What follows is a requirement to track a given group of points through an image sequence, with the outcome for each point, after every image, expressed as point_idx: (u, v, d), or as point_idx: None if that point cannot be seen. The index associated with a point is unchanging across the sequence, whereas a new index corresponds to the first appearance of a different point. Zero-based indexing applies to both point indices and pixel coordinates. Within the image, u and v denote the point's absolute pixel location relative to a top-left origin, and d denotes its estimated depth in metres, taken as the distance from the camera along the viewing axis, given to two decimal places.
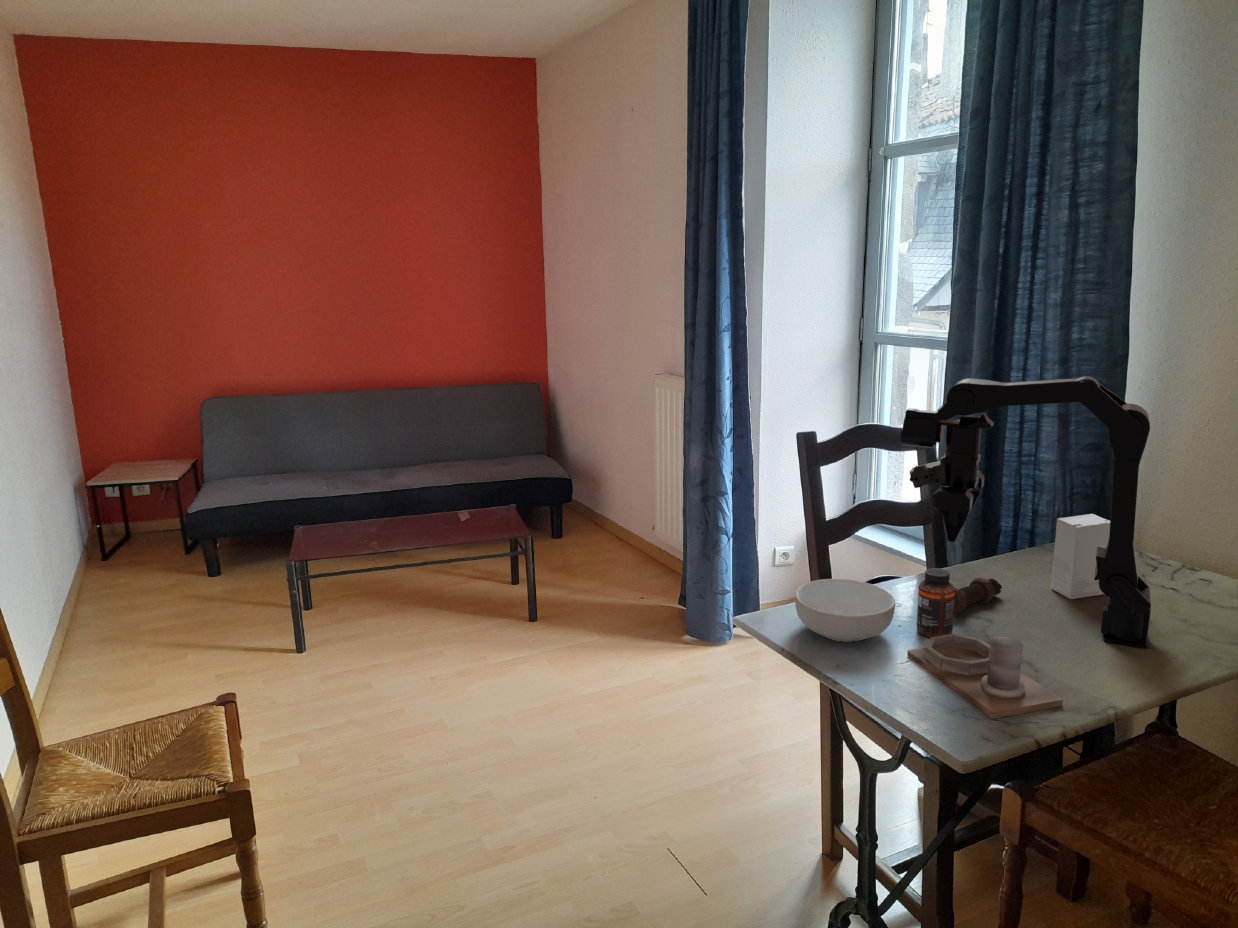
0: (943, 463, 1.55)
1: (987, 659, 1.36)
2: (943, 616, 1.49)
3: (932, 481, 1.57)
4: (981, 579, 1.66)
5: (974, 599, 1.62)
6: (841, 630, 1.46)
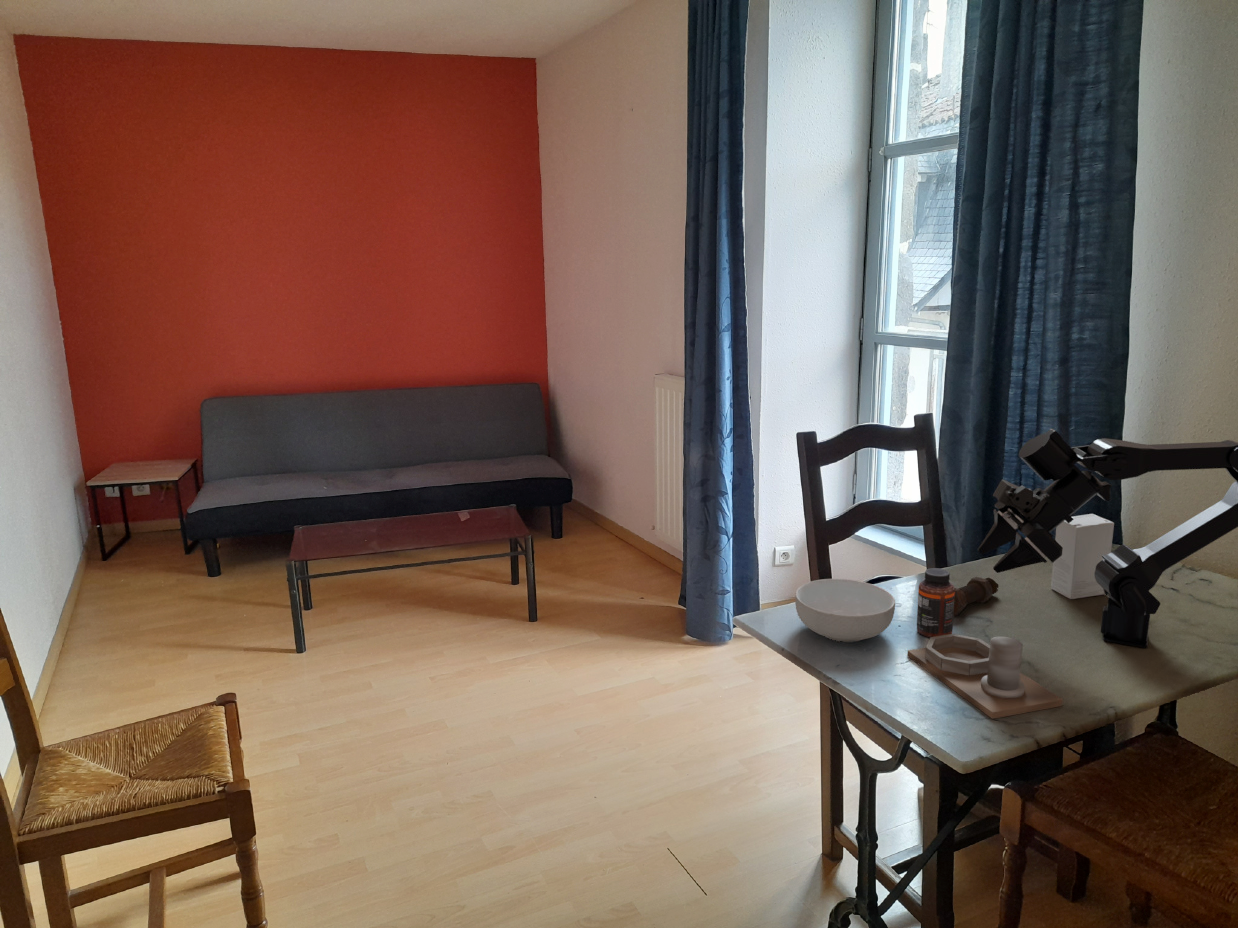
0: (1045, 500, 1.43)
1: (987, 659, 1.36)
2: (943, 616, 1.49)
3: (1021, 508, 1.44)
4: (978, 578, 1.66)
5: (973, 599, 1.63)
6: (841, 630, 1.46)
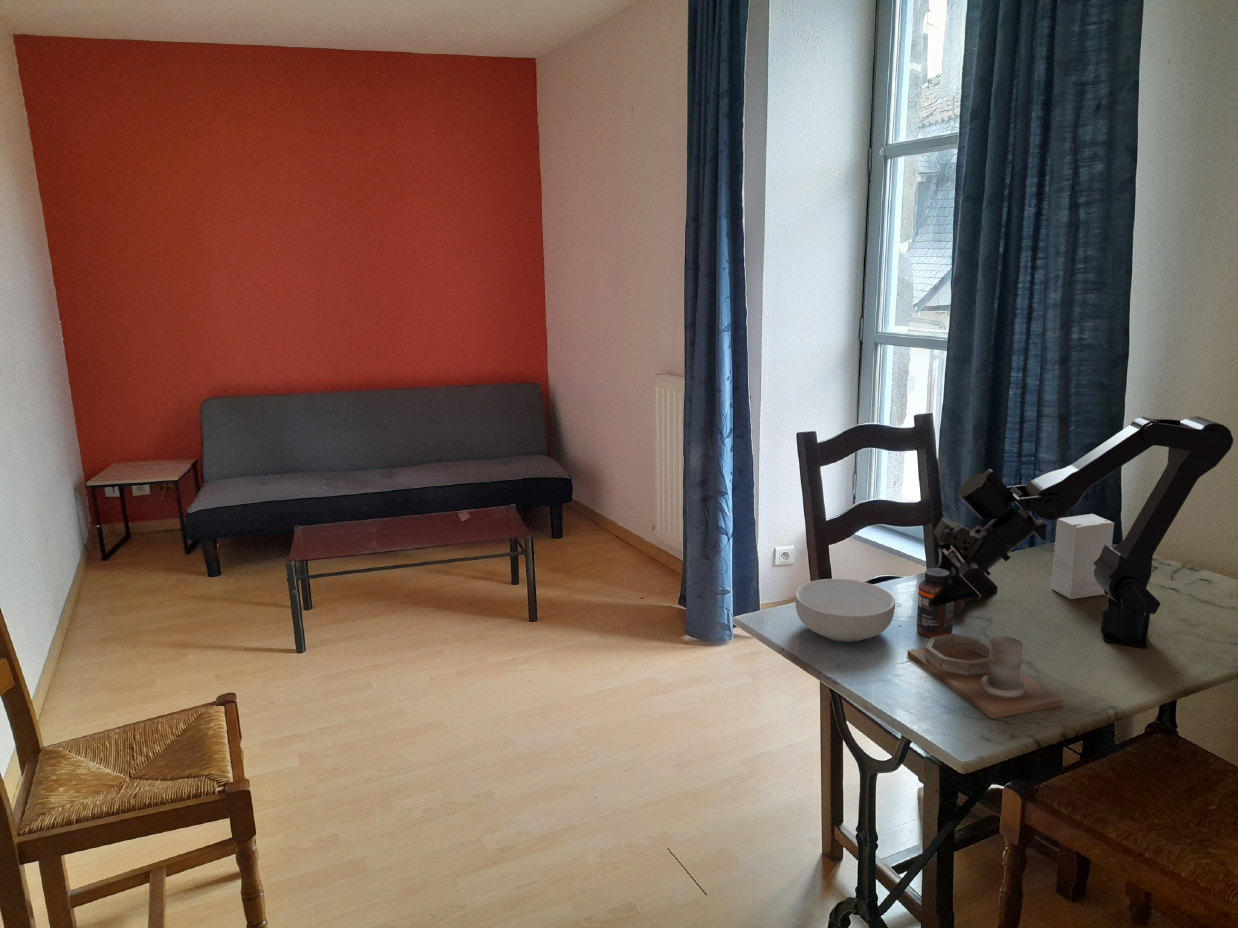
0: (983, 539, 1.46)
1: (987, 659, 1.36)
2: (943, 616, 1.49)
3: (959, 546, 1.47)
4: None
5: (969, 598, 1.63)
6: (841, 630, 1.46)
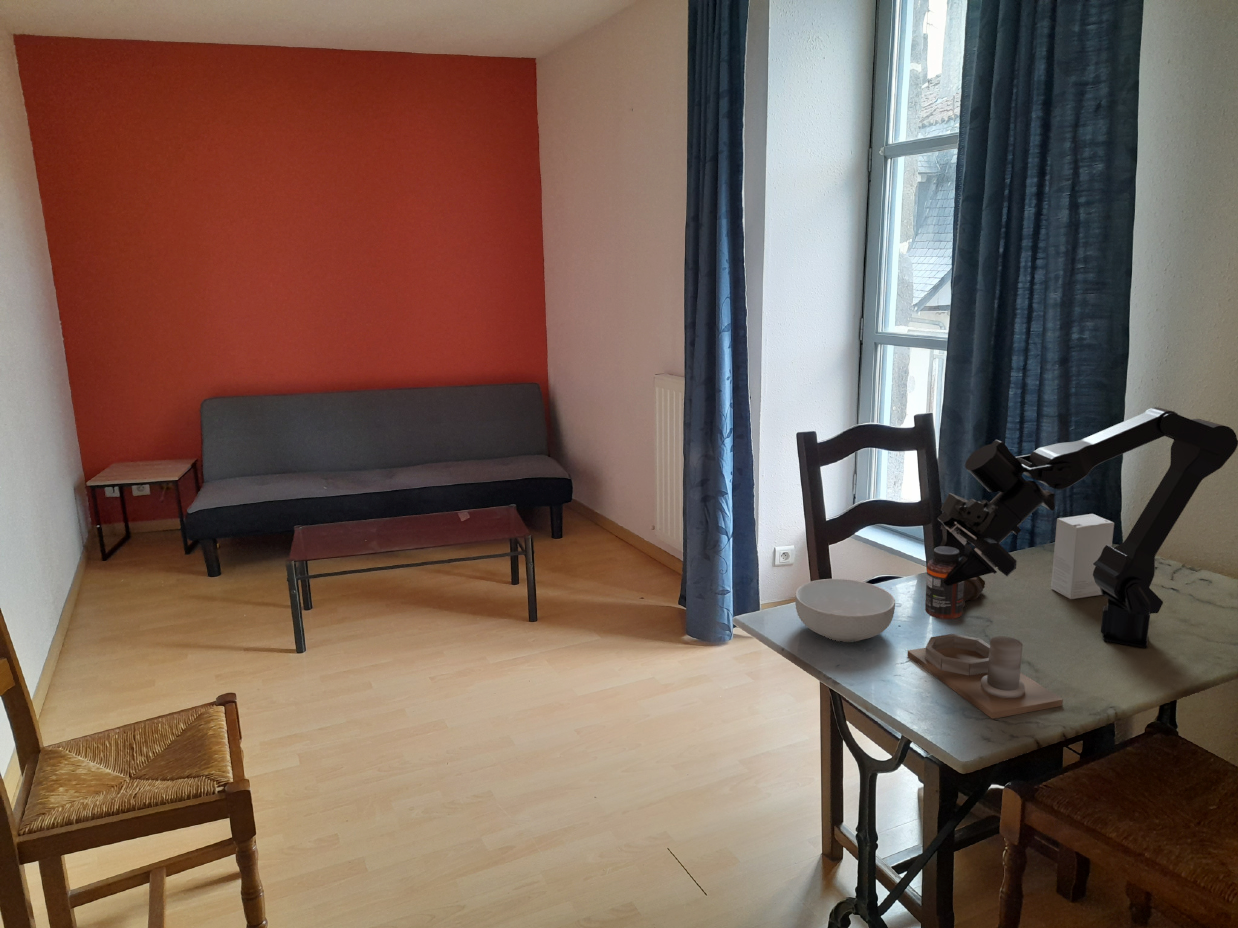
0: (994, 513, 1.41)
1: (987, 659, 1.36)
2: (956, 595, 1.43)
3: (971, 522, 1.41)
4: None
5: (967, 597, 1.63)
6: (841, 630, 1.46)
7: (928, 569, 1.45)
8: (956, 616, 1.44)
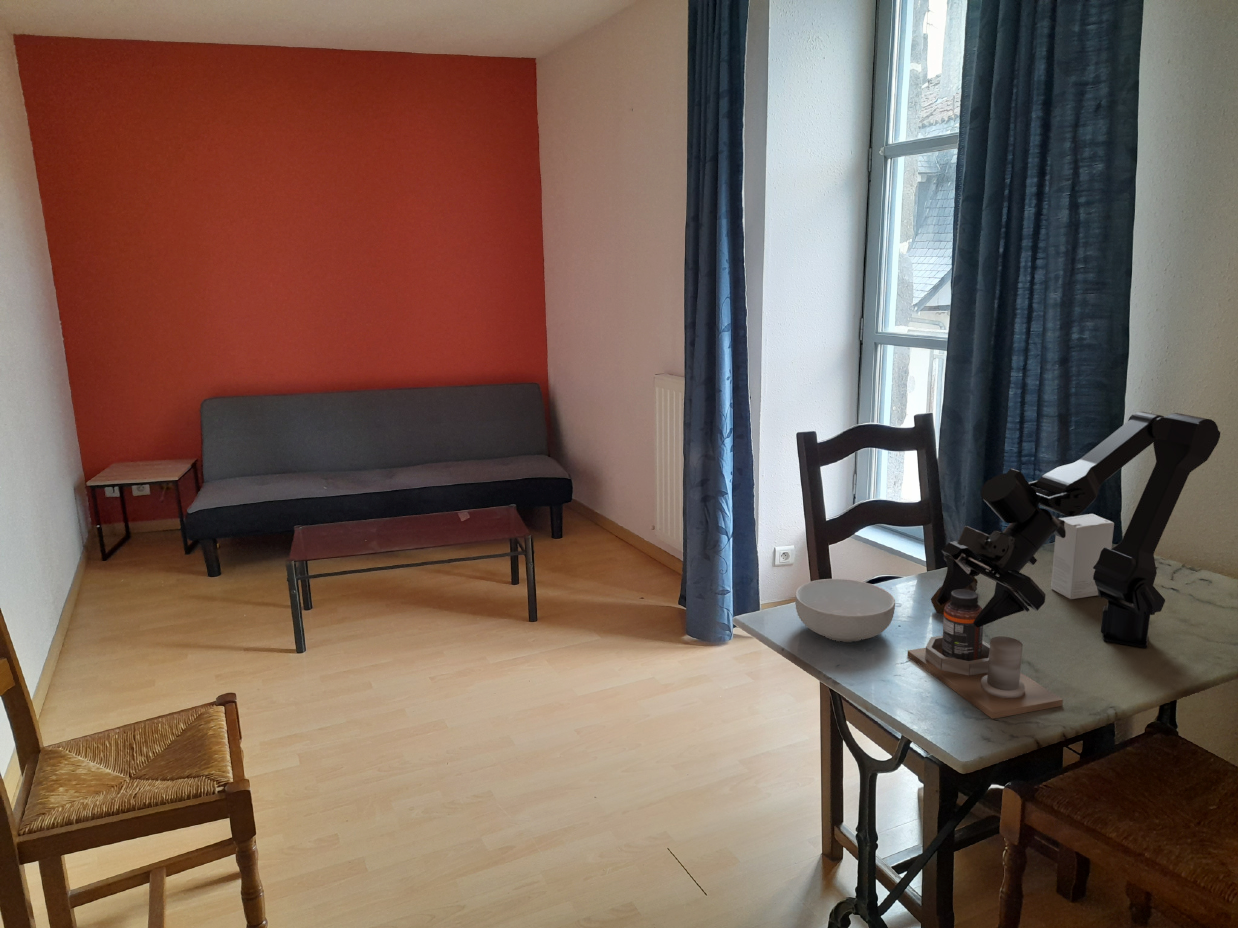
0: (1014, 545, 1.36)
1: (987, 659, 1.36)
2: (978, 640, 1.37)
3: (993, 555, 1.35)
4: None
5: None
6: (841, 630, 1.46)
7: (947, 615, 1.38)
8: None
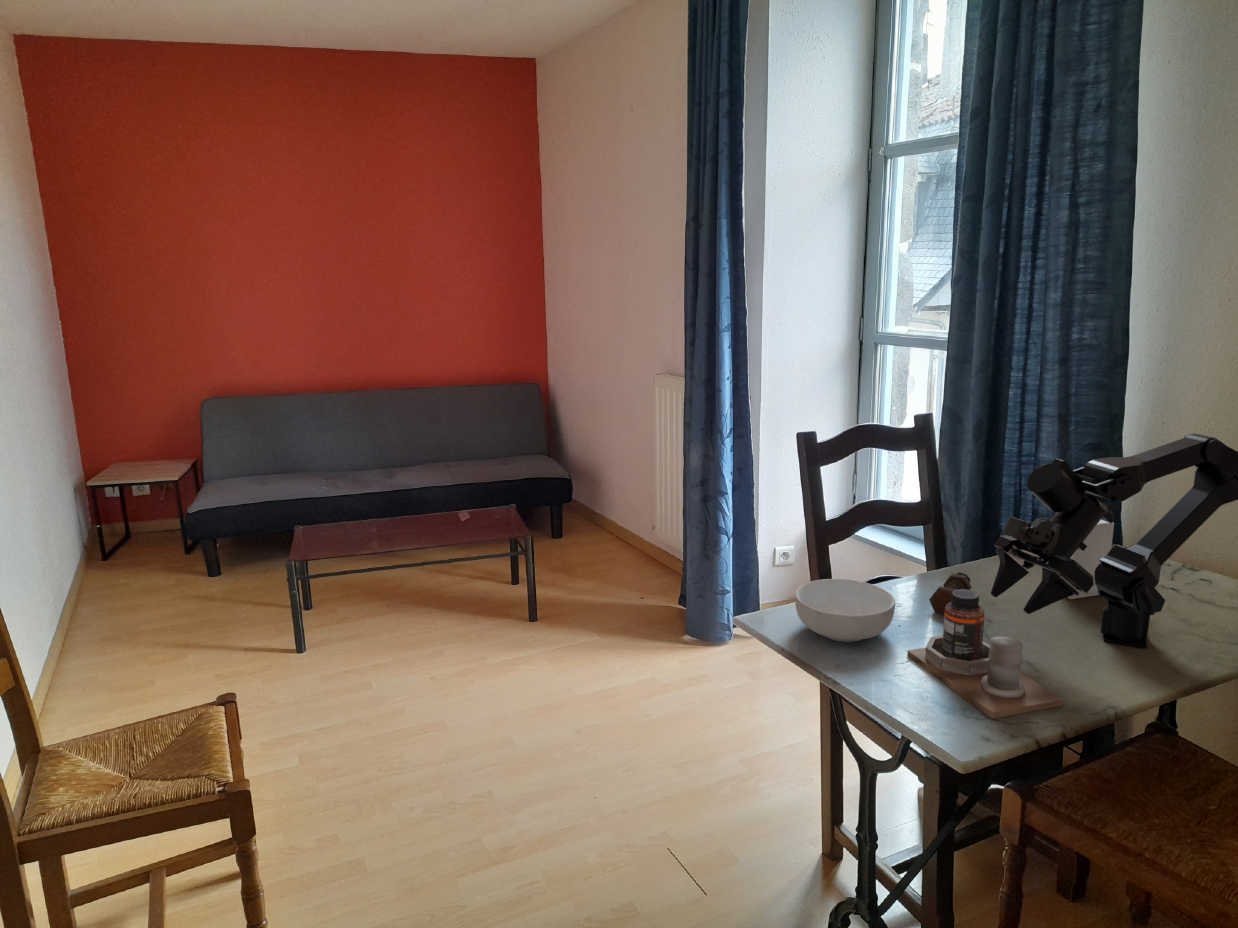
0: (1059, 531, 1.38)
1: (987, 659, 1.36)
2: (978, 641, 1.37)
3: (1038, 542, 1.38)
4: (956, 575, 1.68)
5: None
6: (841, 630, 1.46)
7: (948, 615, 1.38)
8: None
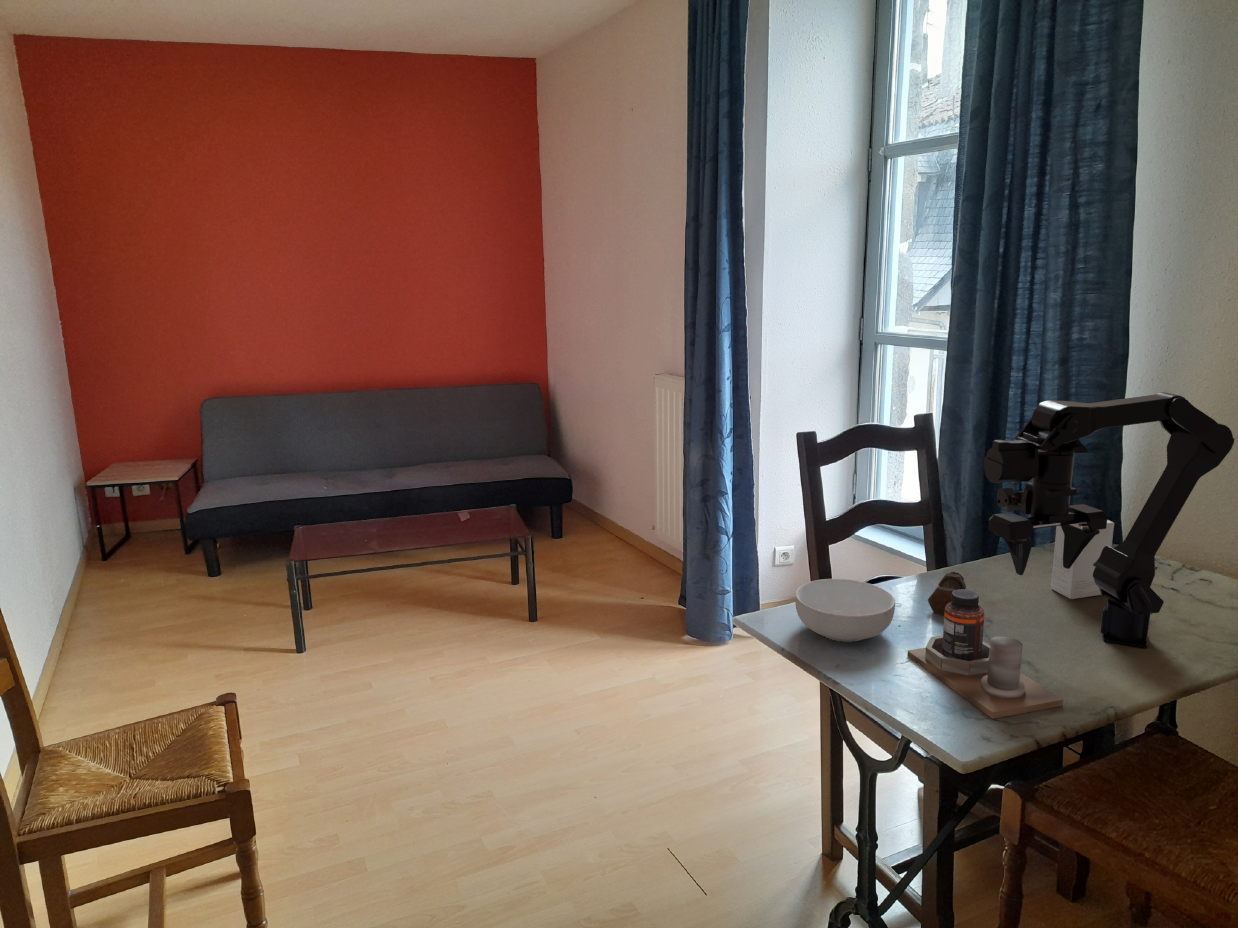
0: (1026, 489, 1.44)
1: (987, 659, 1.36)
2: (978, 641, 1.37)
3: (1018, 507, 1.46)
4: (951, 574, 1.69)
5: None
6: (841, 630, 1.46)
7: (948, 615, 1.38)
8: None
